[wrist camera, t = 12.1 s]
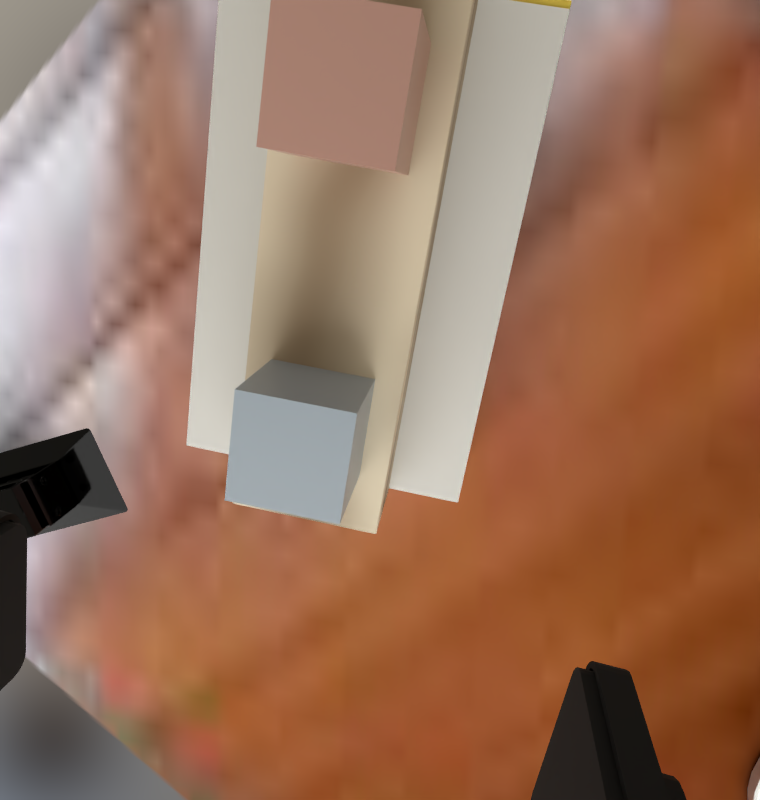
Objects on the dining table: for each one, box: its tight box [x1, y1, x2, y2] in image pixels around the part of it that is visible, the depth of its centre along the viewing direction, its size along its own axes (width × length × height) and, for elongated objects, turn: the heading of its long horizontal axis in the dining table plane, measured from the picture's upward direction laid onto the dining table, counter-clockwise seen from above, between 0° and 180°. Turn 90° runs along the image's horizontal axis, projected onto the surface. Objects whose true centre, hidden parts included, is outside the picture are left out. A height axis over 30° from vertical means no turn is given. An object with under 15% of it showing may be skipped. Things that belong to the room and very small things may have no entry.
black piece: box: [0, 428, 127, 538], centre depth 37 cm, size 12×7×5 cm, turn 108°
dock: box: [187, 0, 571, 503], centre depth 29 cm, size 13×20×5 cm, turn 171°
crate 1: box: [256, 0, 431, 175], centre depth 19 cm, size 4×4×4 cm
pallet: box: [233, 0, 478, 534], centre depth 25 cm, size 6×20×4 cm, turn 171°
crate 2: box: [225, 359, 375, 525], centre depth 23 cm, size 4×4×4 cm
